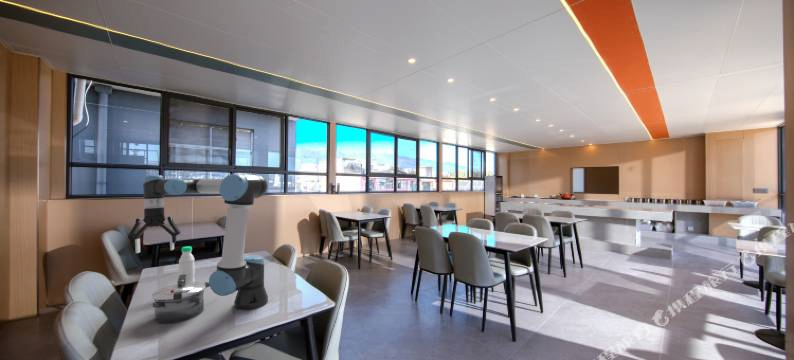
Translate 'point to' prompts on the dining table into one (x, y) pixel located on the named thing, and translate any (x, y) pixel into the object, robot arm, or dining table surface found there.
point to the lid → (179, 290)
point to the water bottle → (187, 264)
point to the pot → (179, 308)
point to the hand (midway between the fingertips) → (155, 251)
